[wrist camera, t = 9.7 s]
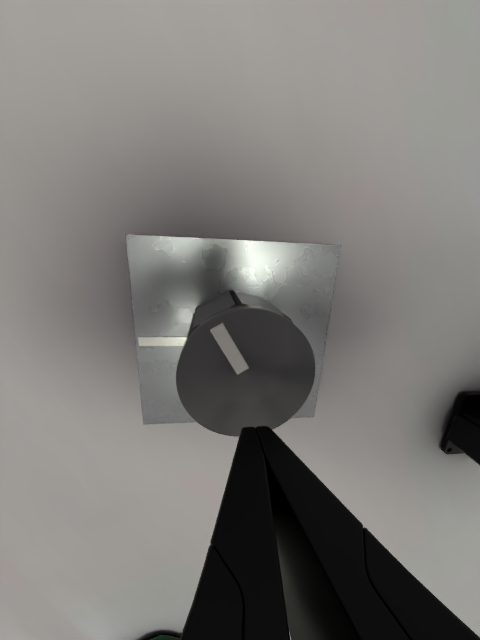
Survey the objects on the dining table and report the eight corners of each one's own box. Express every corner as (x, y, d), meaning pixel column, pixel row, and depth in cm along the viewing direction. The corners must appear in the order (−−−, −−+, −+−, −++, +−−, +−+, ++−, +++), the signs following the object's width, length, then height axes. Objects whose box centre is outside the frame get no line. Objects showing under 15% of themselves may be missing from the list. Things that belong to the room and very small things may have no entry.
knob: (297, 354, 16) (337, 399, 11) (218, 398, 16) (221, 461, 11) (257, 272, 14) (283, 283, 9) (166, 323, 14) (143, 360, 9)
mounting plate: (332, 245, 15) (384, 242, 11) (308, 408, 19) (339, 459, 14) (131, 235, 14) (89, 226, 9) (147, 415, 17) (122, 474, 13)
